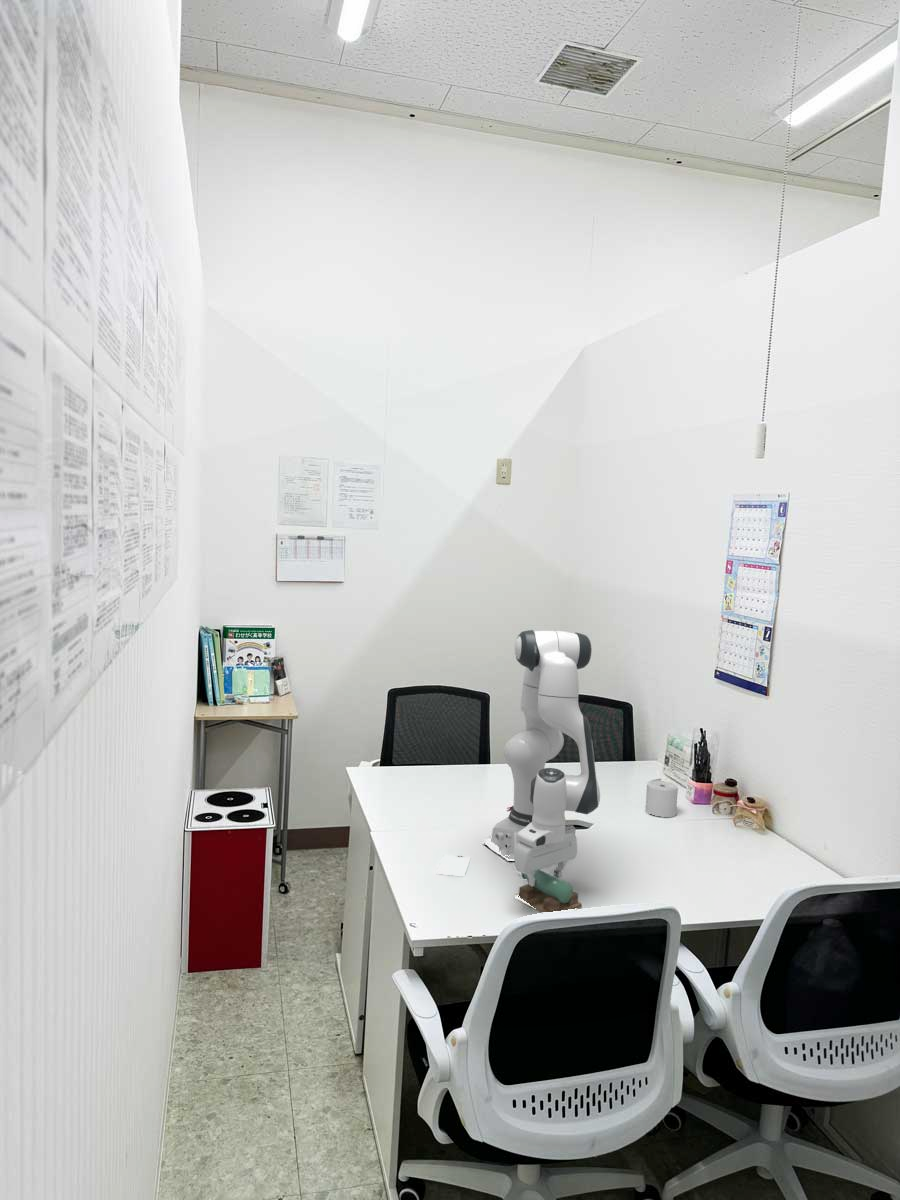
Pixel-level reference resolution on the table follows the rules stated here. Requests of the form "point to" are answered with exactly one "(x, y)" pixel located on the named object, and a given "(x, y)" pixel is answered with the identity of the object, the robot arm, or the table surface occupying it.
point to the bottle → (551, 886)
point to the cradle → (546, 900)
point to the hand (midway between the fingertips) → (545, 880)
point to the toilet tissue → (661, 798)
